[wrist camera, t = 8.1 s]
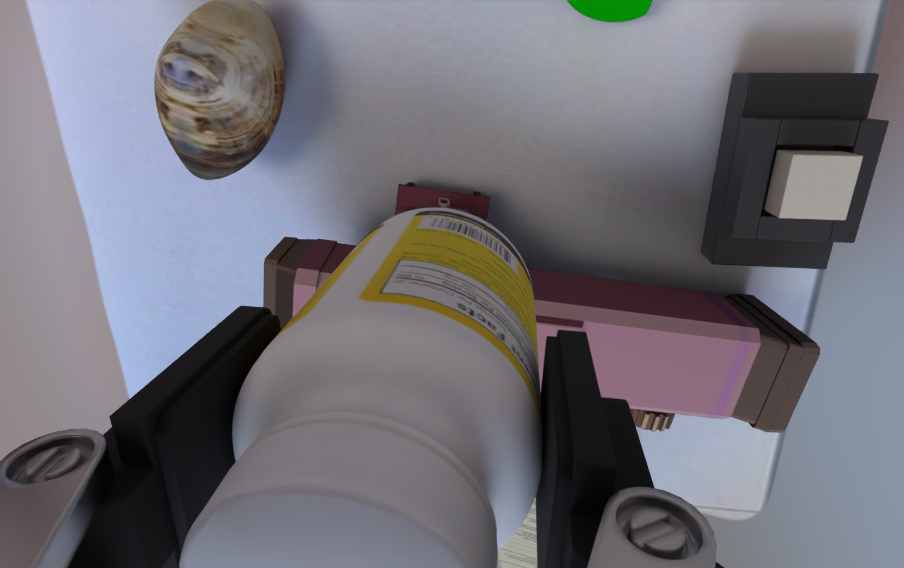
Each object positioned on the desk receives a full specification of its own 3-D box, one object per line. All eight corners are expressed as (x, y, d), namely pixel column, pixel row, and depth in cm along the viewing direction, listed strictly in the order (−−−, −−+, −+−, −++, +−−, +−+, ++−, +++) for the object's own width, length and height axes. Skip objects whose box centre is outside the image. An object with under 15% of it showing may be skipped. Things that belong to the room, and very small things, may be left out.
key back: (826, 211, 27) (846, 220, 26) (763, 209, 28) (778, 218, 26) (842, 150, 26) (863, 156, 24) (776, 149, 26) (793, 154, 25)
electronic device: (693, 377, 38) (774, 480, 28) (298, 329, 36) (247, 423, 26) (747, 227, 33) (863, 290, 24) (305, 165, 32) (248, 207, 22)
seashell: (224, -14, 30) (127, -43, 23) (320, 23, 30) (254, 6, 23) (199, 149, 34) (107, 170, 26) (284, 181, 34) (217, 211, 26)
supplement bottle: (385, 390, 17) (227, 753, 8) (323, 230, 15) (31, 466, 6) (555, 358, 16) (592, 742, 7) (509, 180, 14) (478, 383, 5)
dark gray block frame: (807, 257, 32) (844, 281, 28) (700, 252, 32) (722, 275, 29) (854, 73, 28) (904, 73, 24) (732, 72, 29) (763, 72, 25)
